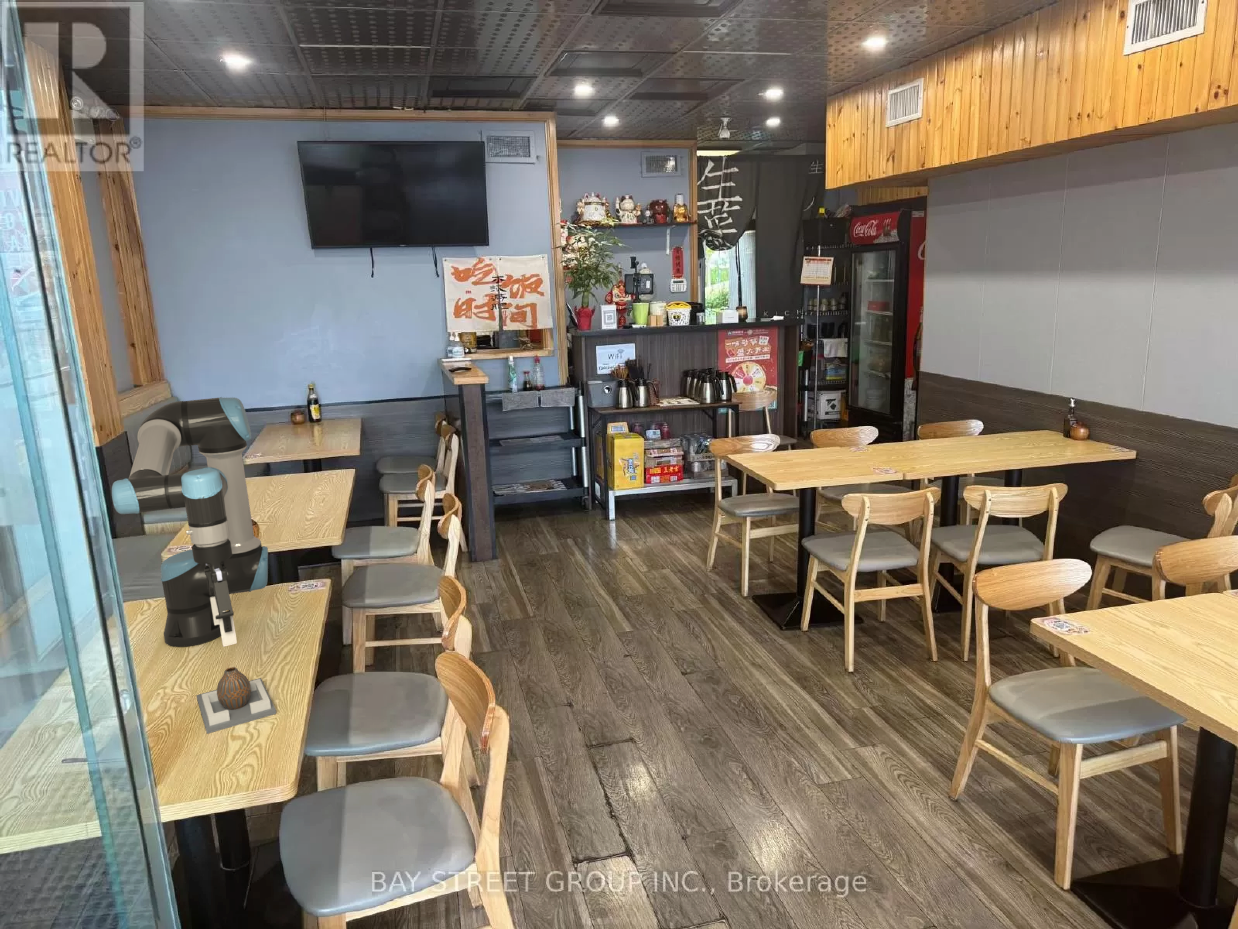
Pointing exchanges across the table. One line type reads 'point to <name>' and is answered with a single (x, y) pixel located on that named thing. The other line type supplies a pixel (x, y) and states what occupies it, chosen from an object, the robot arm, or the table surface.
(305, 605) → the table surface
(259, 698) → the board
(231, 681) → the vase
